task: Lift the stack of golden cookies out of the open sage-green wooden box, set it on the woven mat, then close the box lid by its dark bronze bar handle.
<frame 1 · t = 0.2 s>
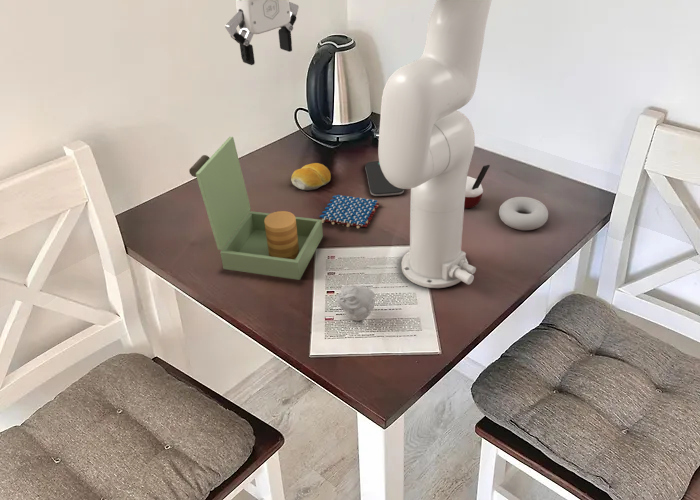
hand: (267, 56, 134), 31 cm above the table, tool pointing down, fingers open, 9 cm apart
woven mat: (350, 216, 142), on the table
smartphone: (384, 180, 153), on the table
box: (275, 255, 131), on the table
donut: (522, 220, 138), on the table
frog figurine: (356, 318, 115), on the table
cookies: (284, 253, 130), point 1 cm above the table, touching box
bread roll: (311, 182, 154), on the table
box lid: (215, 192, 126), point 13 cm above the table, hinge at 95.0°
cocoa: (467, 206, 143), on the table
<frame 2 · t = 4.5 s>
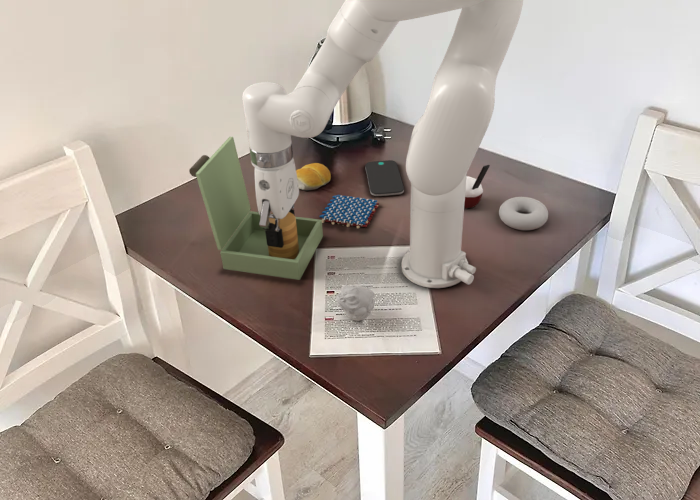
hand: (281, 235, 128), 5 cm above the table, tool pointing down, fingers closed on cookies, 6 cm apart
cookies: (284, 253, 130), point 1 cm above the table, touching box, gripper
everything else where it was.
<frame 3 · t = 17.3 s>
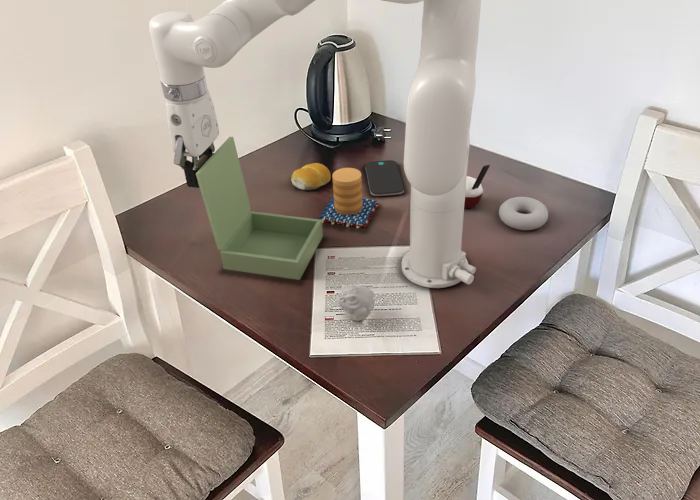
hand: (202, 178, 125), 16 cm above the table, tool pointing down, fingers closed on box lid, 5 cm apart
woven mat: (349, 216, 142), on the table, touching cookies
cookies: (348, 207, 140), point 2 cm above the table, touching woven mat
box lid: (215, 192, 126), point 13 cm above the table, hinge at 95.0°, touching gripper
everything else where it was.
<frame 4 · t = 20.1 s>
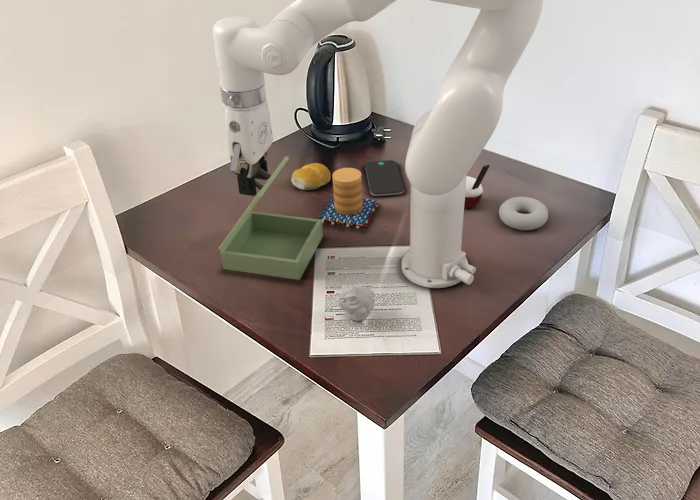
hand: (254, 185, 122), 16 cm above the table, tool pointing down, fingers closed on box lid, 5 cm apart
box lid: (244, 196, 125), point 13 cm above the table, hinge at 53.4°, touching gripper
everything else where it was.
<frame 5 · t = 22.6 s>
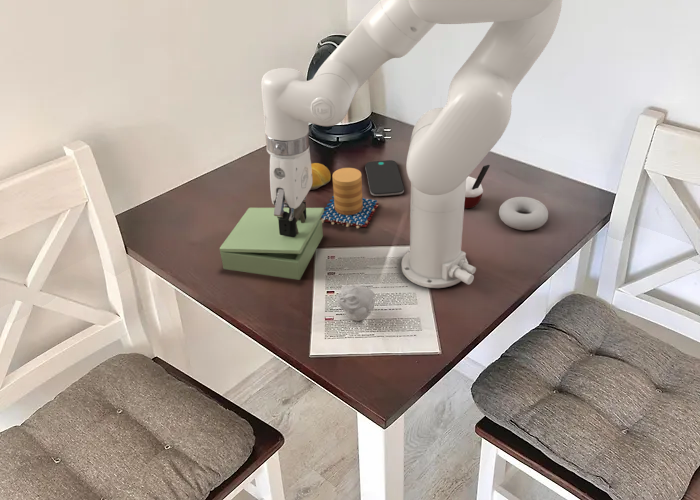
hand: (293, 226, 126), 8 cm above the table, tool pointing down, fingers closed on box lid, 5 cm apart
box lid: (270, 219, 126), point 8 cm above the table, hinge at 7.3°, touching gripper
everything else where it was.
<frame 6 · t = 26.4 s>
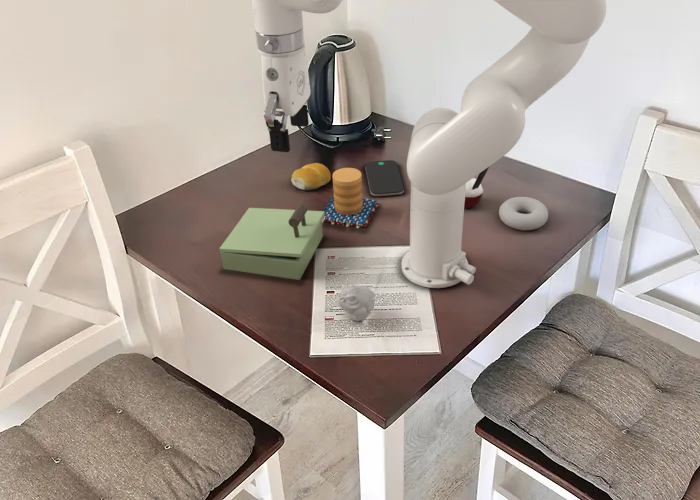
hand: (290, 137, 114), 26 cm above the table, tool pointing down, fingers open, 9 cm apart
box lid: (271, 221, 126), point 8 cm above the table, hinge at 4.4°
everything else where it was.
at the end: cookies 0.2 cm from the woven mat (horizontally); cookies point 2.0 cm above the table; box lid at +4° (first picture: +95°) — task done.
